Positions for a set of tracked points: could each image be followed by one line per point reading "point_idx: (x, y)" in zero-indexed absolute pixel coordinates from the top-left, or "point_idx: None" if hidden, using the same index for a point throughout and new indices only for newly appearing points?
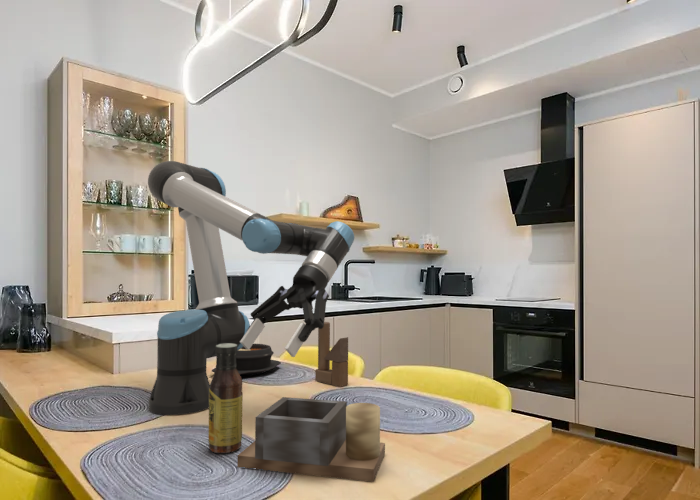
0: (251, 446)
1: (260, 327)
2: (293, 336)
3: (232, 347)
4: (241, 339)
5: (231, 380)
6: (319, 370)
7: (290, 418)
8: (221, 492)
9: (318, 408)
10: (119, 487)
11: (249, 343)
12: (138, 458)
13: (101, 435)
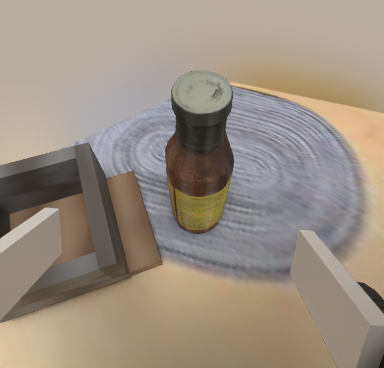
0: (137, 201)
1: (339, 344)
2: (17, 233)
3: (172, 88)
4: (316, 236)
5: (171, 138)
6: None
7: (27, 164)
8: (108, 130)
9: None
10: None
11: (298, 271)
12: (261, 137)
13: (381, 155)
